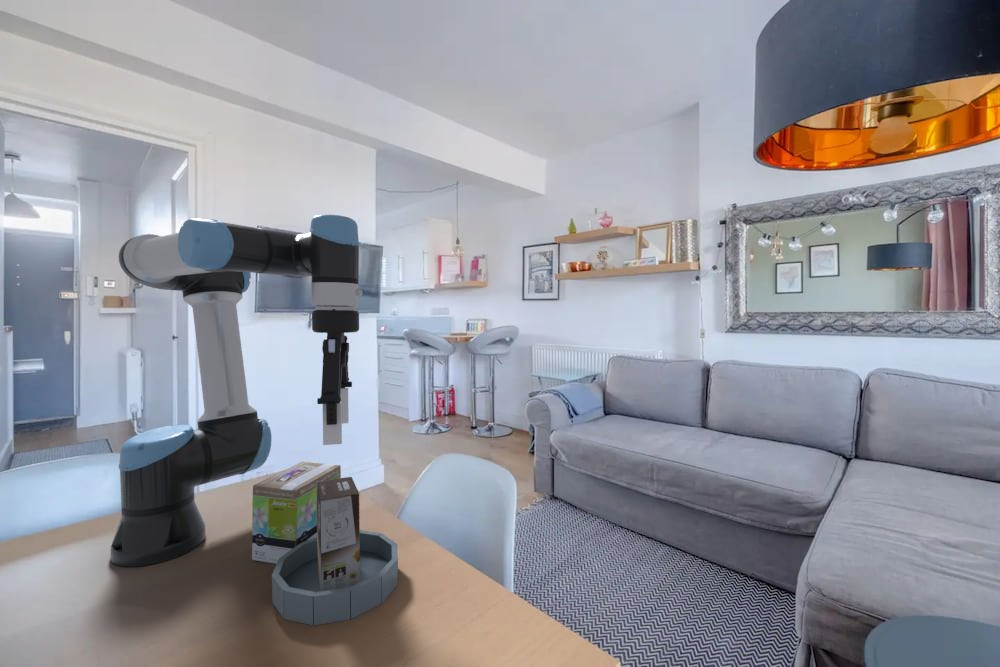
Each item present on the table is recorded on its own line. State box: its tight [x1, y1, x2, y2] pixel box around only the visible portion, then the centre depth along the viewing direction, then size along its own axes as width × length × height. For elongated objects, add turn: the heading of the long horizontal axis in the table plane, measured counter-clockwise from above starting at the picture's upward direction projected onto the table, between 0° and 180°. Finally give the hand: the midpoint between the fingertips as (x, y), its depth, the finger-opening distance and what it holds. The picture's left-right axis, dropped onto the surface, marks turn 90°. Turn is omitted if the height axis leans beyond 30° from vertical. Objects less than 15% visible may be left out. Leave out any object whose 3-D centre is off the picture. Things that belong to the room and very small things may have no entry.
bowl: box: [271, 529, 399, 626], centre depth 77 cm, size 20×20×4 cm
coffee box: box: [316, 476, 361, 591], centre depth 77 cm, size 9×6×16 cm
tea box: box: [251, 461, 342, 565], centre depth 90 cm, size 15×10×15 cm
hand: (337, 432), depth 76 cm, fingers open, 13 cm apart
